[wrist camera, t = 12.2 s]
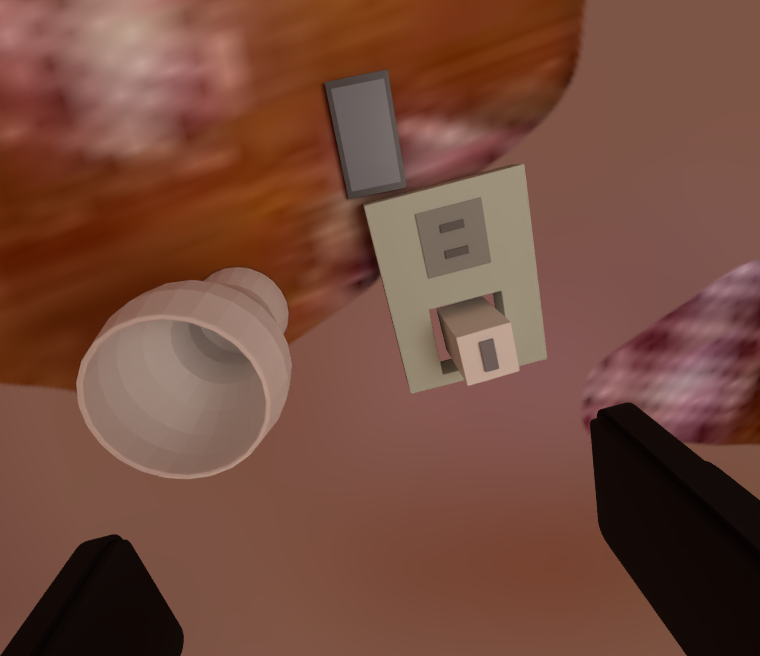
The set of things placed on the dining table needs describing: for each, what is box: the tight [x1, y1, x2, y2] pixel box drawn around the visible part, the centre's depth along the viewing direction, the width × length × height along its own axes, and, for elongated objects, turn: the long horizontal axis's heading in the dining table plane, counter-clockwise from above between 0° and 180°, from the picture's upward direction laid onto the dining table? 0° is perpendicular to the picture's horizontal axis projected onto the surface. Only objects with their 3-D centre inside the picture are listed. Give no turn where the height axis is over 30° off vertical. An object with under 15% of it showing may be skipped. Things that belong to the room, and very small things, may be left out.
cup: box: [76, 267, 292, 479], centre depth 29 cm, size 11×11×15 cm
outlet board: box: [363, 164, 547, 394], centre depth 35 cm, size 16×12×3 cm
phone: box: [324, 70, 406, 199], centre depth 32 cm, size 8×4×1 cm, turn 11°
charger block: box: [437, 296, 519, 386], centre depth 34 cm, size 4×4×7 cm
